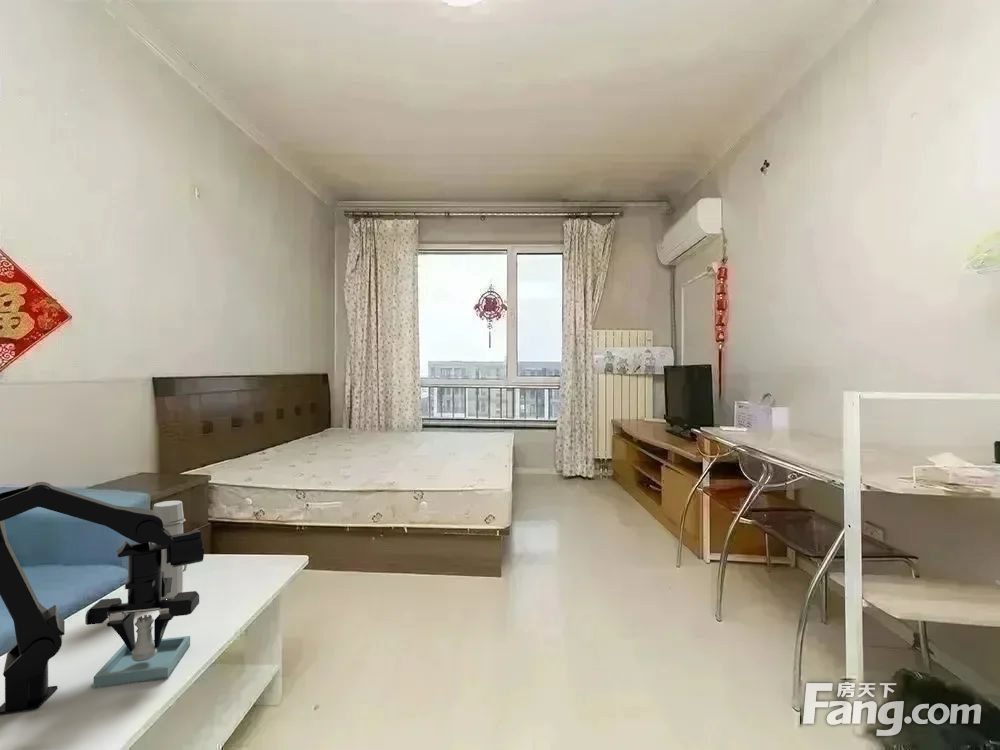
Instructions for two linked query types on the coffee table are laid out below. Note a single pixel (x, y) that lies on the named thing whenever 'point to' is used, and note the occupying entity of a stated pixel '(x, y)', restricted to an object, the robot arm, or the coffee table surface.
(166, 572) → the water bottle
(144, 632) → the rook chess piece
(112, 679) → the slate tray
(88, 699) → the coffee table surface
